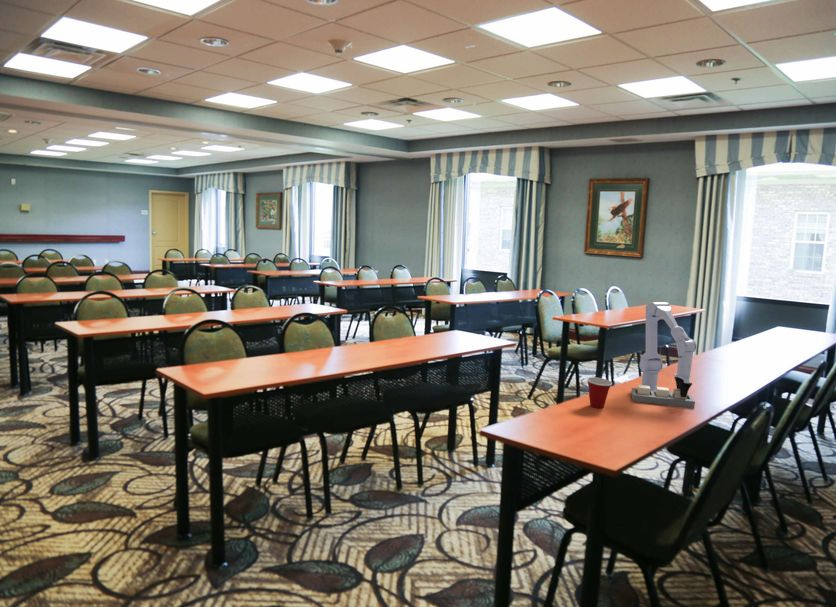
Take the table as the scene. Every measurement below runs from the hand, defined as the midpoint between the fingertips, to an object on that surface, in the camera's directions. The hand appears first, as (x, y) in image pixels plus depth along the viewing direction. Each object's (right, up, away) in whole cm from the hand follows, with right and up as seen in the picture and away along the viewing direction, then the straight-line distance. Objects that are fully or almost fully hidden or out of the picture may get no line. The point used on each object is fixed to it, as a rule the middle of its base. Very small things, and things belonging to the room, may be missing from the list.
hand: (681, 394), depth 278 cm
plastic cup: (-42, -4, -10) cm, 43 cm away
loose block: (-1, -3, +1) cm, 3 cm away
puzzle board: (-8, -3, +3) cm, 9 cm away
